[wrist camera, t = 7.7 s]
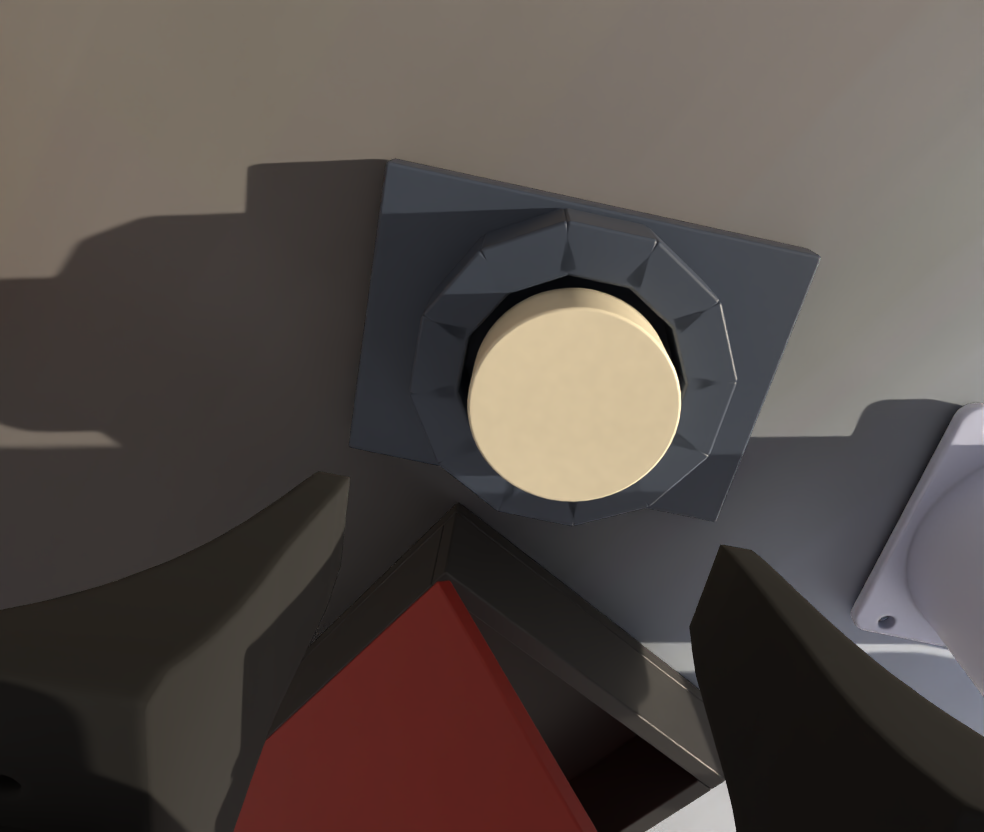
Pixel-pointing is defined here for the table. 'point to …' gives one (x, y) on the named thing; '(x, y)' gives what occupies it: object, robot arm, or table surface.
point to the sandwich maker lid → (413, 742)
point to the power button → (573, 395)
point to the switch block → (554, 265)
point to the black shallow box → (546, 673)
